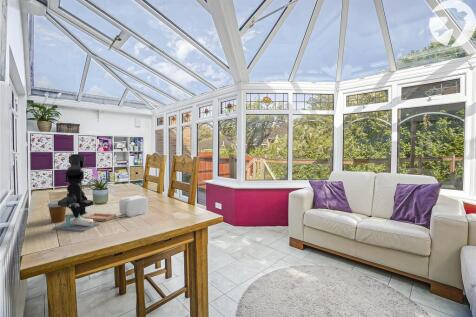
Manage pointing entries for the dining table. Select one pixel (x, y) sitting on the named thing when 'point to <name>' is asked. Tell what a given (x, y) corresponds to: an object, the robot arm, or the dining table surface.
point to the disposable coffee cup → (56, 212)
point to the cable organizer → (133, 205)
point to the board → (75, 227)
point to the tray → (100, 217)
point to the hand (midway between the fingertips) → (76, 217)
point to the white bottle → (83, 222)
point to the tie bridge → (69, 219)
